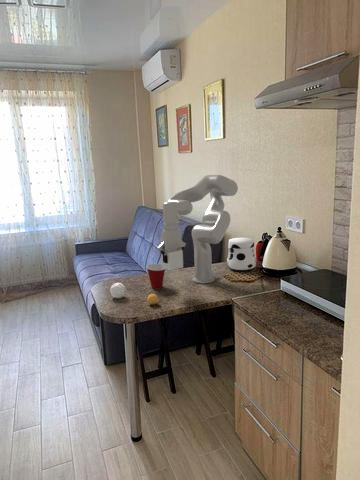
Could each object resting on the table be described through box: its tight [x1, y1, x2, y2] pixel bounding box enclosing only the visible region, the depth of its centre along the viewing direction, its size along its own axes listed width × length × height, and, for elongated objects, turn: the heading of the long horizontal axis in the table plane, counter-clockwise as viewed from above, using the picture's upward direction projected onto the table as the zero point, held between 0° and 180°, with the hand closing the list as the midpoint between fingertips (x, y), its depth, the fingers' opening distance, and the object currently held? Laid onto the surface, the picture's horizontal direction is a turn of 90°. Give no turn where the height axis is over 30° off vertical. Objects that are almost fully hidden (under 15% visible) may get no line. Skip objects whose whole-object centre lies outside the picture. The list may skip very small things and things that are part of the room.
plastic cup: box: [145, 263, 166, 290], centre depth 197 cm, size 11×11×12 cm
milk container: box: [226, 237, 257, 272], centre depth 223 cm, size 17×17×18 cm
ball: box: [146, 293, 159, 306], centre depth 175 cm, size 5×5×5 cm
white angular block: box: [160, 249, 184, 271], centre depth 184 cm, size 8×8×9 cm
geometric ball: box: [109, 282, 126, 300], centre depth 185 cm, size 8×8×8 cm
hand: (172, 261), depth 184 cm, fingers closed on white angular block, 7 cm apart
